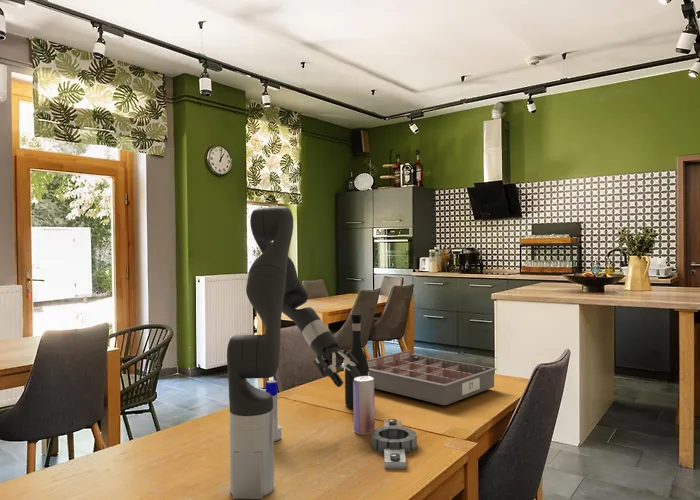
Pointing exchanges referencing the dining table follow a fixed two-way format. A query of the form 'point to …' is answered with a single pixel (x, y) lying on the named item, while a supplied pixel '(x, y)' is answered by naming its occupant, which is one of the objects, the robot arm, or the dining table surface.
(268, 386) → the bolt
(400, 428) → the pipe clamp bracket
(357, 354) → the wine bottle
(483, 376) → the organizer tray
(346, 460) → the dining table surface
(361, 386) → the beverage can
